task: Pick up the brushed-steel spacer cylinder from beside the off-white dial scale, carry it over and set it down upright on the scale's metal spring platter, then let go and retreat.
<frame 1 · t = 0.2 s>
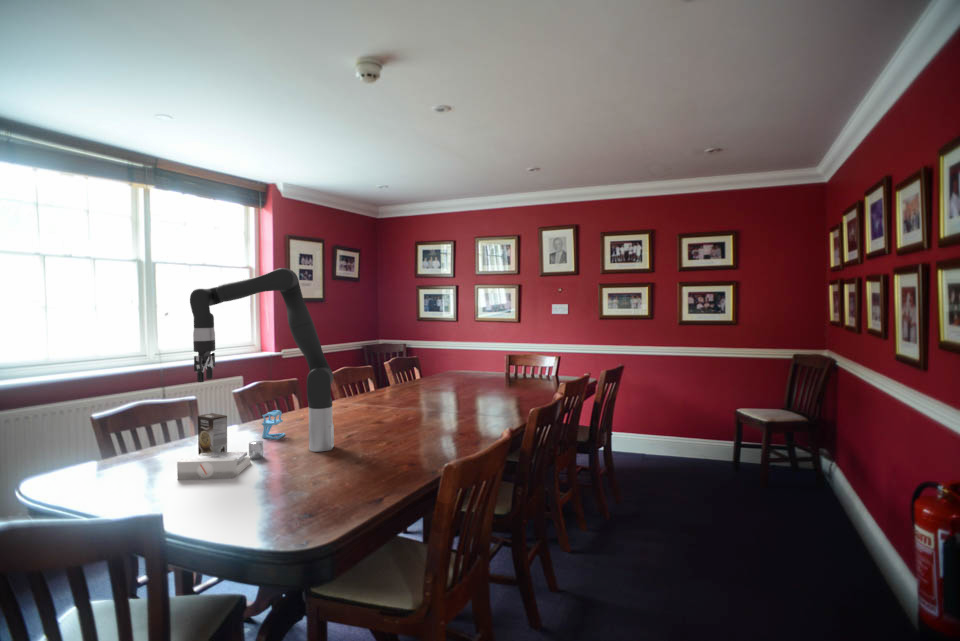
hand: (205, 380, 197), 29 cm above the table, fingers open, 8 cm apart
chair: (272, 437, 220), on the table
coffee box: (213, 457, 192), on the table
platter: (218, 458, 177), point 4 cm above the table, slide at 0.3 cm
scale: (215, 471, 176), on the table
steel spacer: (256, 458, 190), on the table
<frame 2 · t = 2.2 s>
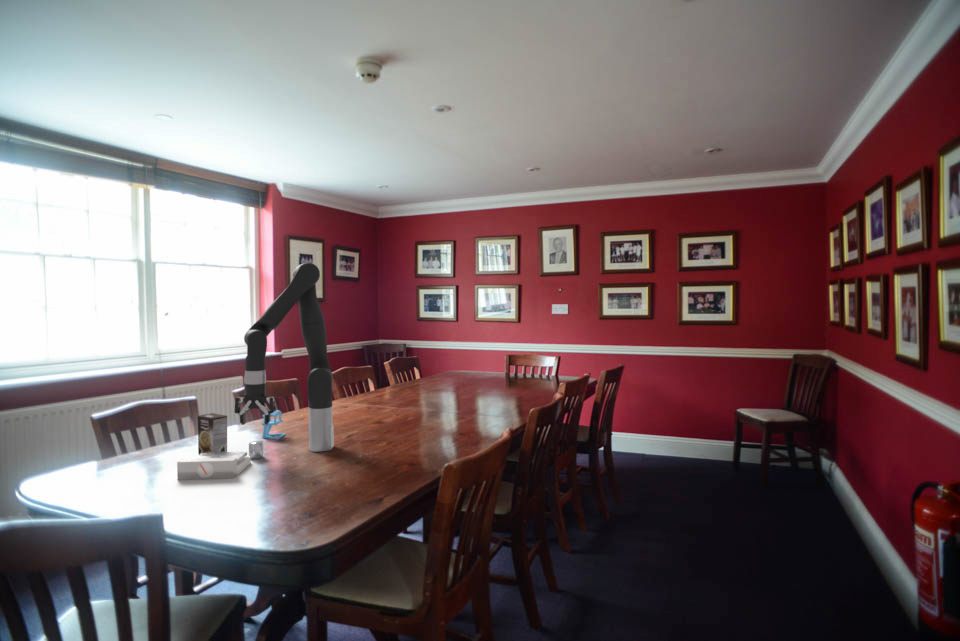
hand: (255, 424, 190), 13 cm above the table, fingers open, 8 cm apart
nothing on the table moved.
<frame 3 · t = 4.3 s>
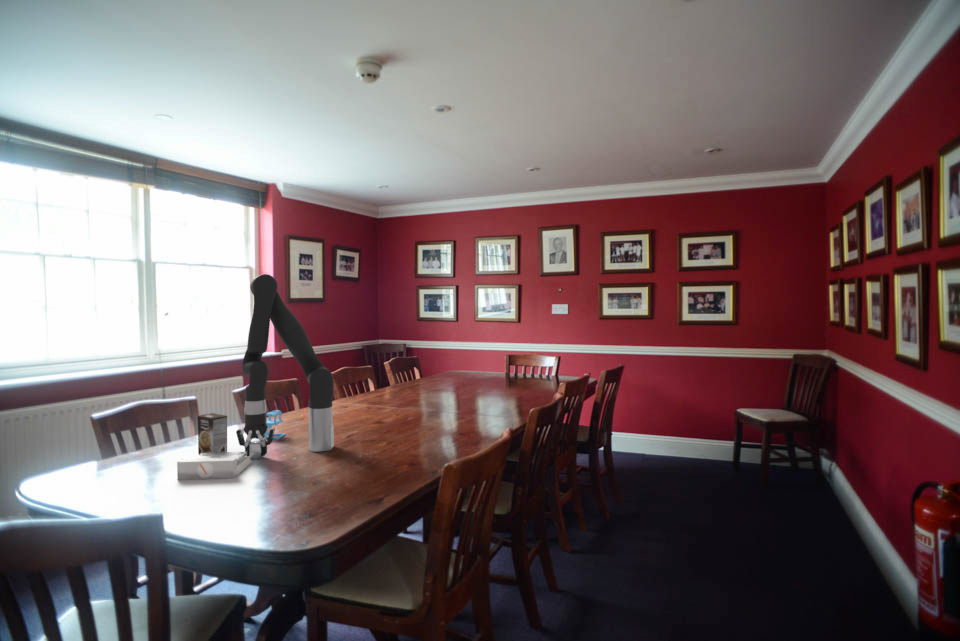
hand: (256, 455, 190), 1 cm above the table, fingers closed on steel spacer, 5 cm apart
steel spacer: (256, 458, 190), on the table, touching gripper
everything else where it was.
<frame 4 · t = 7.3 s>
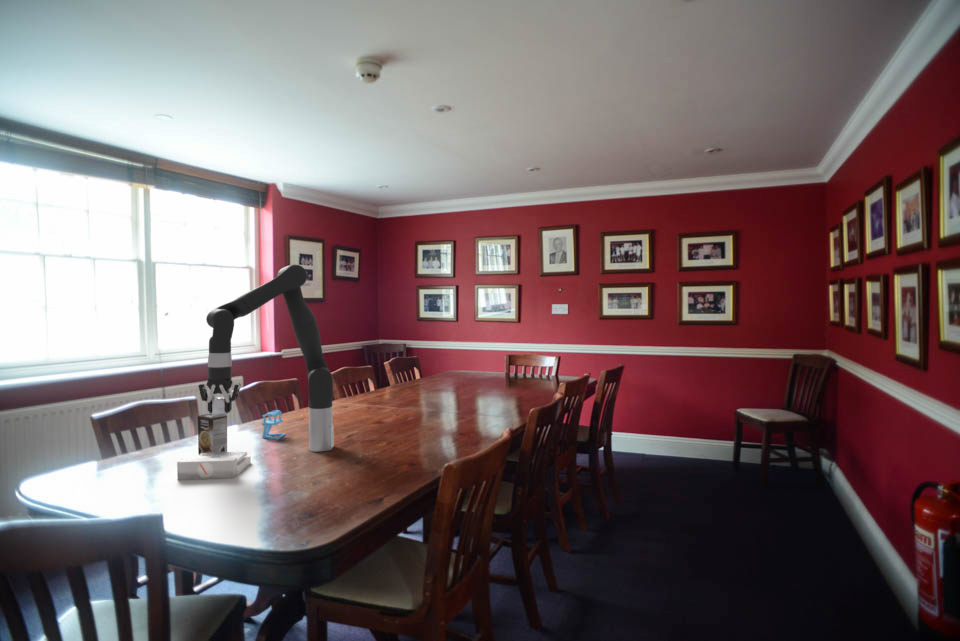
hand: (219, 412, 178), 20 cm above the table, fingers closed on steel spacer, 5 cm apart
steel spacer: (219, 414, 178), point 19 cm above the table, touching gripper
everything else where it was.
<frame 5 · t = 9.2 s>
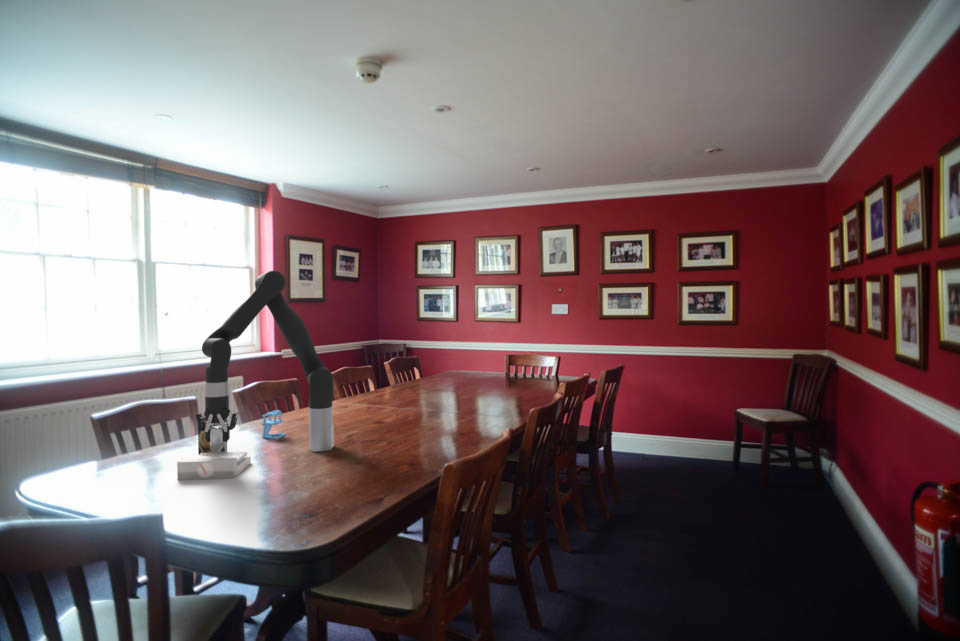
hand: (217, 441, 177), 10 cm above the table, fingers closed on steel spacer, 5 cm apart
steel spacer: (217, 444, 177), point 9 cm above the table, touching gripper
everything else where it was.
when the fingers open (7 cm above the table, at t = 10.7 s): steel spacer drops 2 cm, resting on platter.
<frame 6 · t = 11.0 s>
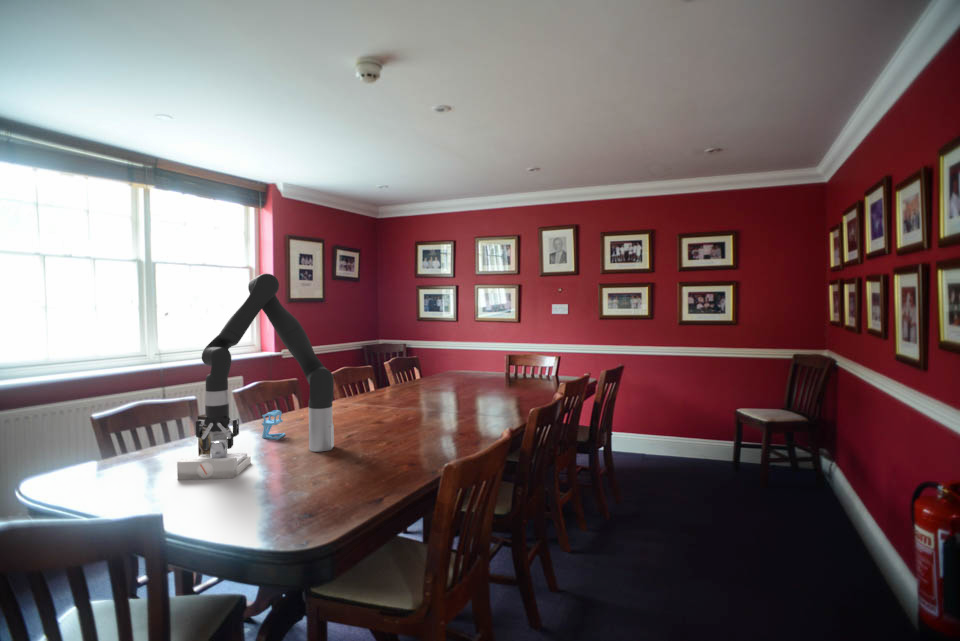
hand: (218, 448, 177), 7 cm above the table, fingers open, 7 cm apart
platter: (218, 460, 177), point 3 cm above the table, slide at 0.9 cm, touching steel spacer
steel spacer: (218, 458, 177), point 4 cm above the table, touching platter
everything else where it was.
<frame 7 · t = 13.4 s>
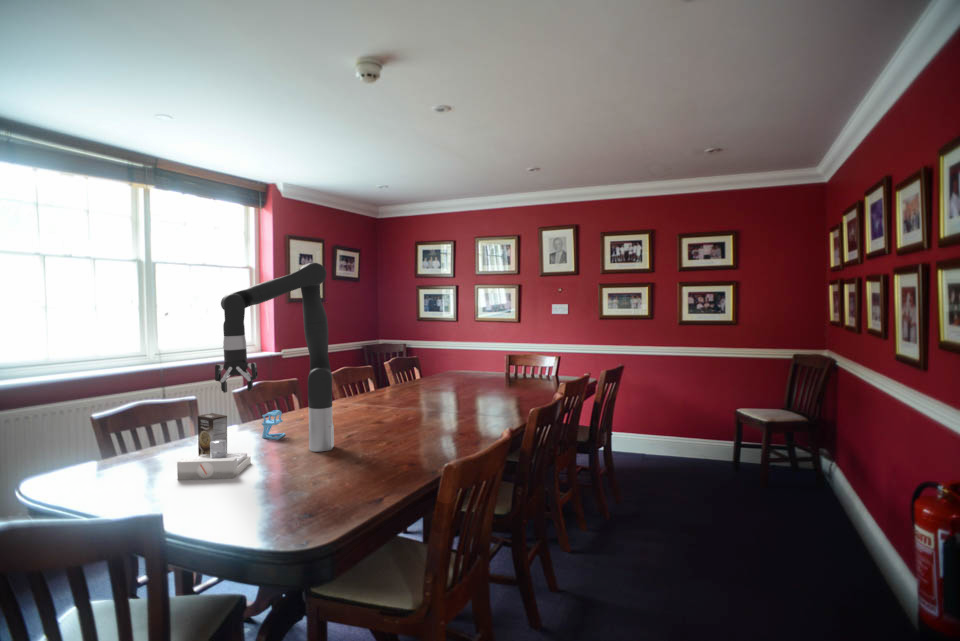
hand: (237, 391, 184), 26 cm above the table, fingers open, 8 cm apart
nothing on the table moved.
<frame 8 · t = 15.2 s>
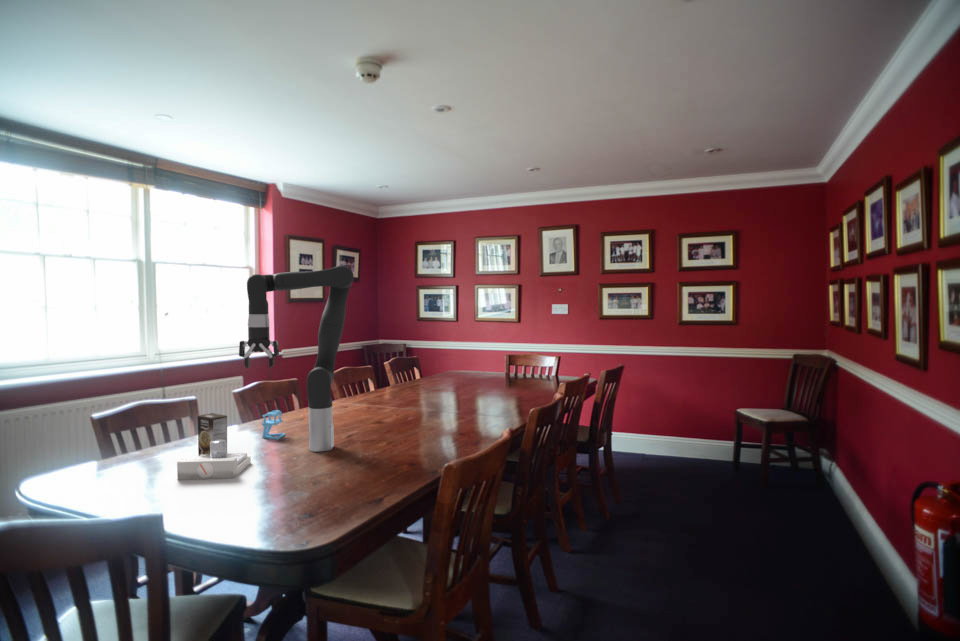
hand: (259, 367, 194), 34 cm above the table, fingers open, 8 cm apart
nothing on the table moved.
at the end: steel spacer inside the target area on the scale (0.1 cm from its centre), point 3.9 cm above the scale's base; steel spacer tilted 2°; the gripper is holding nothing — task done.
